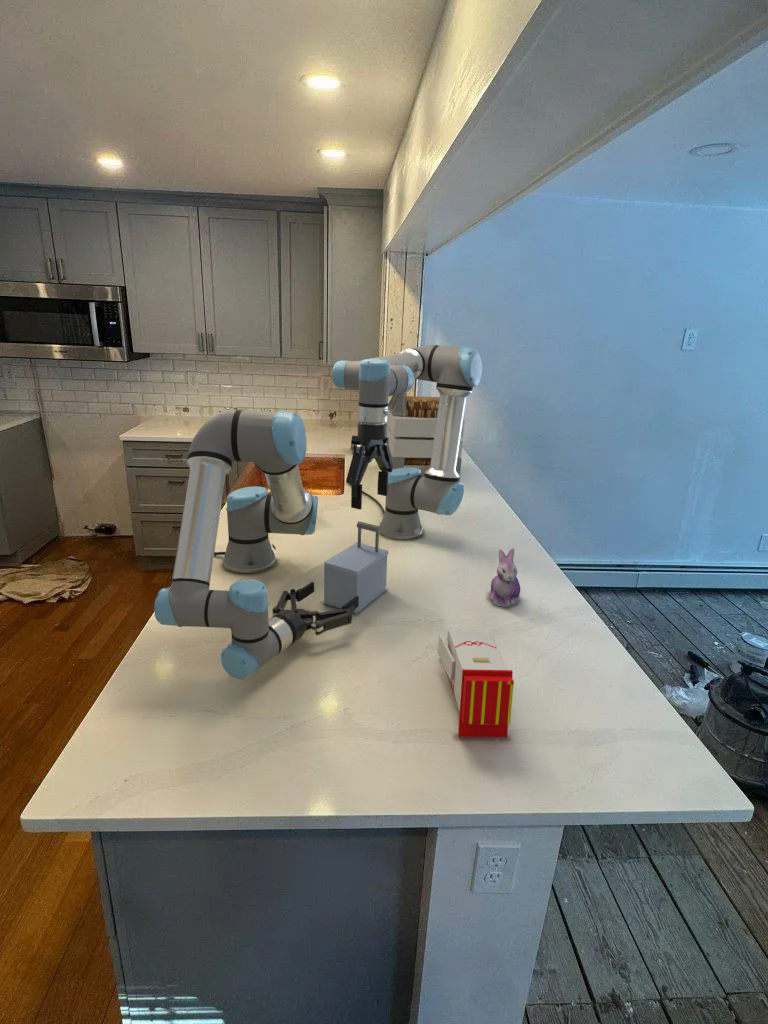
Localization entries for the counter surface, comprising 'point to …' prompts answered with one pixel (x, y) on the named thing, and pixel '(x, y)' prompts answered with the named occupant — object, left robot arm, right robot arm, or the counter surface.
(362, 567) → the lid
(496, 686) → the toy
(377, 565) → the chest
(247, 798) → the counter surface
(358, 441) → the figurine character
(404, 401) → the white slatted crate
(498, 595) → the figurine
